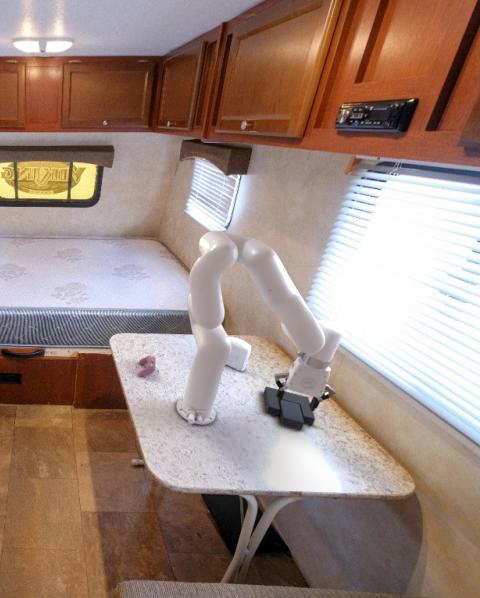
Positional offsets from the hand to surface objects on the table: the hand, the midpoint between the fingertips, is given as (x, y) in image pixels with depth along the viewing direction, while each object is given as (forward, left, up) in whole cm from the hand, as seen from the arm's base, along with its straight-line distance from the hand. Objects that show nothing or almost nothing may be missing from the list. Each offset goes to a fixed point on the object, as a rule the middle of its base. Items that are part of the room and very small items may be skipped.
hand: (294, 403), depth 117 cm
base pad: (+8, -1, -8) cm, 12 cm away
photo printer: (+28, +17, -8) cm, 34 cm away
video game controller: (+8, +49, -8) cm, 51 cm away
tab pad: (+3, -1, -8) cm, 9 cm away
